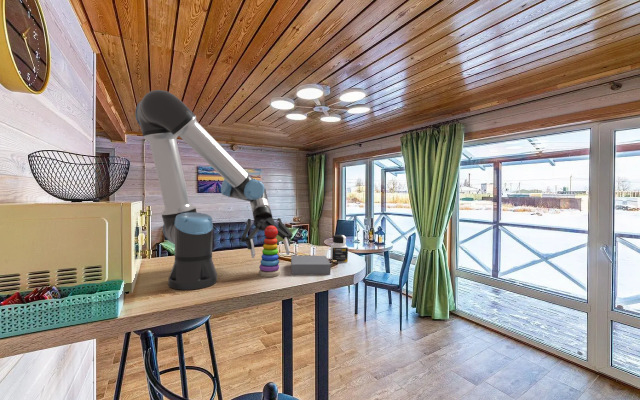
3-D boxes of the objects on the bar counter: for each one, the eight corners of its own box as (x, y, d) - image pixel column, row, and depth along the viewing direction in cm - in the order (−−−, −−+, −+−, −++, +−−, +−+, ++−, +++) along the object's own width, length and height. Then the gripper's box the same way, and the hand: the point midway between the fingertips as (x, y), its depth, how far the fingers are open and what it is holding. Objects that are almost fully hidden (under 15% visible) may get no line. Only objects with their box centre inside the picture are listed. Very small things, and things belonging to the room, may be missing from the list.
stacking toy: (278, 278, 107) (279, 227, 106) (256, 277, 107) (257, 226, 106) (281, 272, 115) (282, 224, 114) (261, 271, 115) (262, 224, 114)
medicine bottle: (332, 262, 132) (332, 236, 132) (330, 258, 139) (331, 233, 139) (347, 262, 133) (348, 236, 133) (345, 258, 140) (345, 234, 140)
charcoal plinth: (291, 274, 111) (291, 264, 111) (290, 264, 126) (291, 255, 126) (330, 274, 113) (330, 264, 113) (325, 264, 128) (325, 255, 128)
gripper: (287, 216, 129) (299, 257, 117) (229, 217, 118) (236, 262, 105) (291, 205, 125) (305, 246, 112) (232, 205, 113) (239, 251, 100)
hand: (271, 254), depth 108 cm, fingers open, 13 cm apart
